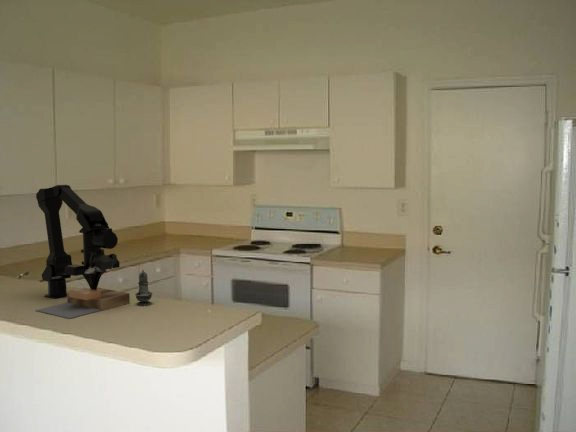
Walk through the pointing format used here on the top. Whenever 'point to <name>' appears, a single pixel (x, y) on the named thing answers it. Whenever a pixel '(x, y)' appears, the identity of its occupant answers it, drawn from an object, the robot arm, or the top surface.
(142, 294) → the dark grey chess piece
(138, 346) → the top surface
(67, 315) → the mat
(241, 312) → the top surface
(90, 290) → the tile
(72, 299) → the board
